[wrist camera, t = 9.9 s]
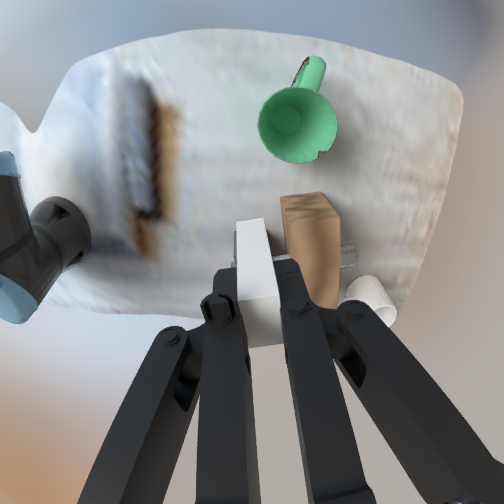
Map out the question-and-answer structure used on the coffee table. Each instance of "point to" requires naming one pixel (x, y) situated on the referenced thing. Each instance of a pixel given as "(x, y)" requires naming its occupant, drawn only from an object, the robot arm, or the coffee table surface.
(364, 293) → the mug
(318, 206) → the beam
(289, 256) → the axle
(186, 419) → the robot arm
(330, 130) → the mug
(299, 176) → the coffee table surface
